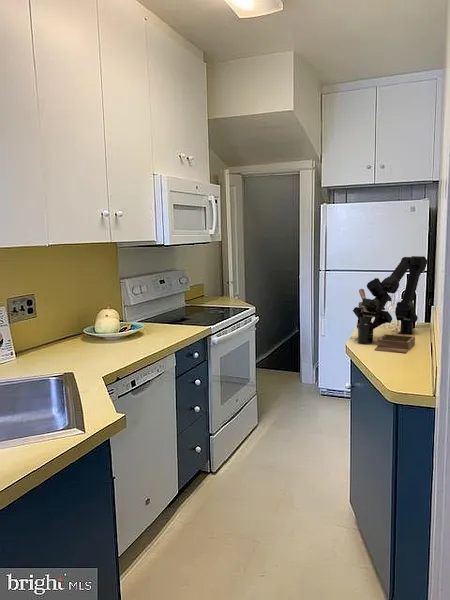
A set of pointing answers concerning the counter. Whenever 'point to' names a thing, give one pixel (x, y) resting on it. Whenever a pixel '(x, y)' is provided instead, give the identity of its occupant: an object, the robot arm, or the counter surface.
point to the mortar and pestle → (362, 300)
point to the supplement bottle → (365, 331)
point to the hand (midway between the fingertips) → (363, 329)
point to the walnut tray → (395, 343)
